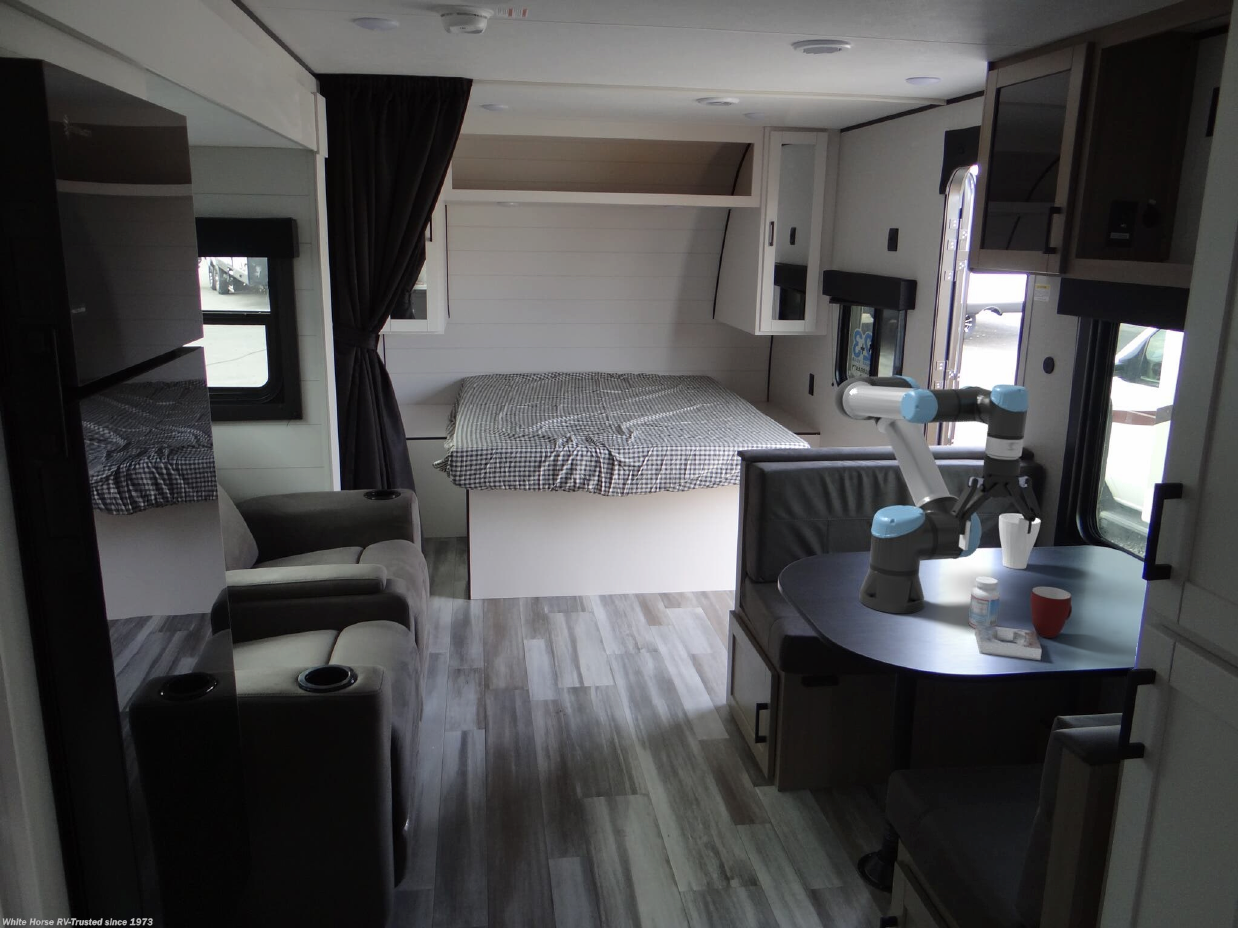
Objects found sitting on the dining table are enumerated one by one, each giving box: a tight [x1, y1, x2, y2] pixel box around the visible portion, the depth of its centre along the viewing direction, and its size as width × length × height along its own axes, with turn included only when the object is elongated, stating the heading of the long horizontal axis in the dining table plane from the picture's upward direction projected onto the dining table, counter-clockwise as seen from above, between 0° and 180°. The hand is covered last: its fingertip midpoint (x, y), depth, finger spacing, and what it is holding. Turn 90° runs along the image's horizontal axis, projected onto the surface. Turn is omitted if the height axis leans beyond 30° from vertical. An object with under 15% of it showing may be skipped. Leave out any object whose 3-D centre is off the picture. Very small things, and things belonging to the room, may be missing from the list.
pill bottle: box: [968, 576, 1001, 630], centre depth 210 cm, size 6×6×11 cm
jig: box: [974, 625, 1042, 661], centre depth 200 cm, size 12×10×2 cm
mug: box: [1030, 586, 1073, 639], centre depth 207 cm, size 11×8×10 cm
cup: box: [998, 512, 1042, 570], centre depth 253 cm, size 10×10×14 cm
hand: (992, 547), depth 208 cm, fingers open, 13 cm apart
